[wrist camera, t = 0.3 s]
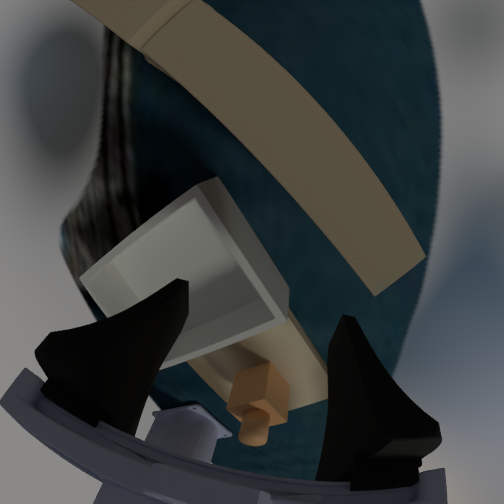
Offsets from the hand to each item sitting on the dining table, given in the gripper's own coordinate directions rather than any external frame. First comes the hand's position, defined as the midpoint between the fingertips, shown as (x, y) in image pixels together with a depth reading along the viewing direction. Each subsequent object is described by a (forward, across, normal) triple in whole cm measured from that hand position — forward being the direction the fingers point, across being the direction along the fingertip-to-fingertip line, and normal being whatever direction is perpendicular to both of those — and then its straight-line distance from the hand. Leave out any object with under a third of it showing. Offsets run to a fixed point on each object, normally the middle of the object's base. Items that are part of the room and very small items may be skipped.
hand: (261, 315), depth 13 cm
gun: (+12, +6, -10) cm, 17 cm away
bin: (+10, +7, +6) cm, 14 cm away
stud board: (+9, -1, +16) cm, 18 cm away
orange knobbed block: (+7, -1, +15) cm, 17 cm away
